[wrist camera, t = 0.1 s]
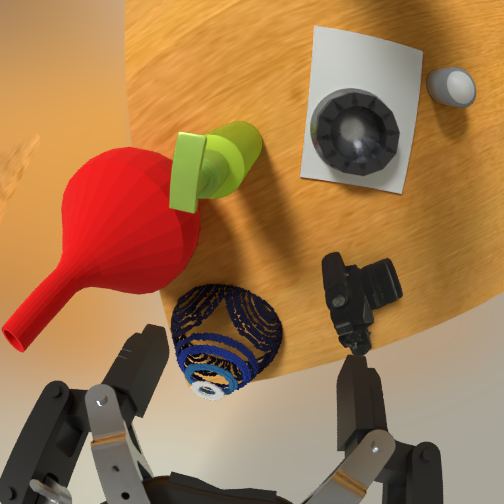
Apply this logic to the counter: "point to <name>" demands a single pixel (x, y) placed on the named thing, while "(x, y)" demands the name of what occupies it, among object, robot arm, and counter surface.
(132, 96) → the counter surface
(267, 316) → the decorative bowl
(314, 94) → the mat
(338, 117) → the black faceted bowl
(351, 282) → the camera
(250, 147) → the soap dispenser
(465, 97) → the cap
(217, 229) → the counter surface
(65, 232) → the vase
